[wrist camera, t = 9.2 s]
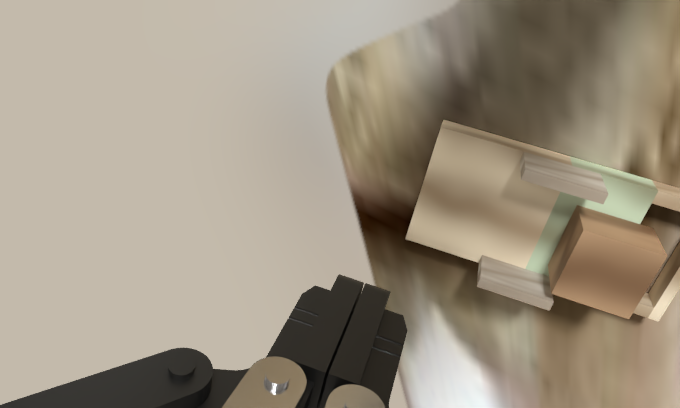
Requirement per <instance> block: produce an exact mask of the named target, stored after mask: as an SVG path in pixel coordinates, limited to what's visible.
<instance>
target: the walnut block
mask: <svg viewBox="0 0 680 408" xmlns="http://www.w3.org/2000/svg"><path fill="white" fill-rule="evenodd" d="M666 258H667V254H666V252H665V250H664V248H663V247H662V245H661V243H660V241H659V239H658V237H657V235H656V233H655V231H654V229H653V228H650V227H647V226H644V225H641V224H637V223H634V222H631V221H628V220H624V219H621V218H618V217H615V216H611V215H608V214H605V213H602V212H598V211H595V210H592V209H589V208H585V207H582V206H579V205H577V206H576V208H575V210H574V212H573V214H572V216H571V218H570V220H569V222H568V224H567V226H566V228H565V230H564V233H563V235H562V237H561V239H560V241H559V243H558V245H557V247H556V249H555V251H554V253H553V255H552V257H551V259H550V261H549V263H548V271H549V279H550V287H551V294H554V295H557V296H560V297H563V298H566V299H569V300H572V301H575V302H578V303H581V304H584V305H587V306H590V307H593V308H596V309H599V310H602V311H605V312H608V313H611V314H614V315H617V316H620V317H623V318H626V319H630V317H631V315H632V314H633V312H634V310H635V309H636V307H637V305H638V304H639V302H640V300H641V299H642V297H643V296H644V294H645V292H646V291H647V289H648V287H649V286H650V284H651V282H652V281H653V279H654V278H655V276H656V274H657V273H658V271H659V269H660V268H661V266H662V264H663V263H664V261H665V260H666Z"/></svg>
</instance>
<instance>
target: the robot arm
mask: <svg viewBox="0 0 680 408" xmlns="http://www.w3.org/2000/svg"><path fill="white" fill-rule="evenodd" d="M363 284H364V283H363V282H360V281H357V280H354V279H351V278H348V277H345V276H342V275H338V277H337V279H336V281H335V283H334V285H333V287H332V289H331V291H330V290H327V289H324V288H321V287H318V286H314V287H312V288H311V289H309V290H308V291H306V292H305V293H303V294H302V295H301V297H300V299H299V300H298V302H297V304H296V306H295V308H294V309H293V311H292V313H291V315H290V316H289V319H288V320H287V322H286V323H285V325H284V327H283V329H282V330H281V332H280V334H279V336H278V337H277V339H276V341H275V343H274V345H273V346H272V348H271V350H270V352H269V353H268V355H267V357H266V358H263V359H260V360H259V361H257V362H256V363H254V364H253V365H252V366H251V367H250V368H249V369H245V370H238V371H234V370H220V369H213V367H212V364H211V362H210V360H209V359H208V357H207V356H206V355H204V354H203V353H201V352H199V351H197V350H194V349H190V348H176V349H171V350H168V351H165V352H162V353H159V354H156V355H153V356H150V357H146V358H143V359H140V360H138V361H134V362H131V363H128V364H125V365H122V366H119V367H116V368H113V369H110V370H107V371H103V372H100V373H97V374H94V375H91V376H88V377H85V378H82V379H79V380H76V381H73V382H70V383H67V384H64V385H60V386H57V387H54V388H51V389H48V390H45V391H42V392H39V393H36V394H33V395H30V396H27V397H24V398H20V399H17V400H14V401H11V402H8V403H5V404H2V405H0V408H389V399H390V394H391V391H392V387H393V383H394V380H395V376H396V372H397V368H398V364H399V360H400V356H401V353H402V349H403V345H404V341H405V337H406V333H407V328H406V324H405V321H404V317H403V315H400V314H397V313H394V312H391V311H388V310H385V307H386V304H387V301H388V298H389V294H390V291H387V290H384V289H381V288H378V287H375V286H372V285H369V284H365V286H364V288H363ZM362 288H363V291H362ZM361 292H362V293H361Z"/></svg>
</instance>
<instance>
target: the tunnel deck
mask: <svg viewBox="0 0 680 408" xmlns="http://www.w3.org/2000/svg"><path fill="white" fill-rule="evenodd" d="M651 204H656V205H659V206H662V207H666V208H669V209H672V210H676V211H679V212H680V188H677V187H674V186H670V185H667V184H663V183H660V182H657V181H653V180H650V179H646V178H643V177H639V176H636V175H633V174H629V173H626V172H622V171H619V170H615V169H612V168H609V167H605V166H602V165H598V164H595V163H591V162H588V161H584V160H581V159H578V158H574V157H571V156H567V155H564V154H560V153H557V152H554V151H550V150H547V149H543V148H540V147H536V146H533V145H530V144H526V143H523V142H519V141H516V140H512V139H509V138H506V137H502V136H499V135H495V134H492V133H488V132H485V131H482V130H478V129H475V128H471V127H468V126H464V125H461V124H458V123H454V122H451V121H447V120H444V119H443V122H442V125H441V128H440V131H439V134H438V138H437V141H436V144H435V147H434V150H433V153H432V156H431V160H430V163H429V166H428V169H427V172H426V175H425V178H424V182H423V185H422V188H421V191H420V194H419V197H418V201H417V204H416V207H415V210H414V213H413V216H412V219H411V223H410V226H409V229H408V232H407V235H406V238H405V239H407V240H410V241H413V242H416V243H419V244H422V245H425V246H428V247H431V248H435V249H438V250H441V251H444V252H447V253H450V254H453V255H456V256H459V257H462V258H465V259H468V260H471V261H474V262H477V263H479V267H478V278H477V287H479V288H482V289H485V290H488V291H491V292H494V293H497V294H500V295H503V296H506V297H509V298H512V299H515V300H518V301H521V302H524V303H527V304H530V305H533V306H536V307H539V308H542V309H545V310H548V311H550V309H551V307H552V305H553V303H554V301H553V294H551V287H550V279H549V271H548V263H549V261H550V259H551V257H552V255H553V253H554V251H555V249H556V247H557V245H558V243H559V241H560V239H561V237H562V235H563V233H564V230H565V228H566V226H567V224H568V222H569V220H570V218H571V216H572V214H573V212H574V210H575V208H576V206H577V205H579V206H582V207H585V208H589V209H592V210H595V211H598V212H602V213H605V214H608V215H611V216H615V217H618V218H621V219H624V220H628V221H631V222H634V223H637V224H640V223H641V222H642V220H643V218H644V216H645V214H646V213H647V211H648V209H649V207H650V205H651ZM679 288H680V242H679V243H678V245H677V247H676V248H675V250H674V252H673V253H672V255H671V257H670V258H669V260H668V262H667V263H666V265H665V267H664V268H663V270H662V272H661V273H660V275H659V276H658V278H657V280H656V281H655V283H654V285H653V286H652V288H651V290H650V291H649V293H645V294H644V296H643V297H642V299H641V300H640V302H639V304H638V305H637V307H636V309H635V310H634V312H633V313H634V314H637V315H640V316H643V317H646V318H649V319H652V320H655V321H659V320H660V318H661V317H662V315H663V313H664V312H665V310H666V309H667V307H668V306H669V304H670V303H671V301H672V299H673V298H674V296H675V295H676V293H677V292H678V290H679Z"/></svg>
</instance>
